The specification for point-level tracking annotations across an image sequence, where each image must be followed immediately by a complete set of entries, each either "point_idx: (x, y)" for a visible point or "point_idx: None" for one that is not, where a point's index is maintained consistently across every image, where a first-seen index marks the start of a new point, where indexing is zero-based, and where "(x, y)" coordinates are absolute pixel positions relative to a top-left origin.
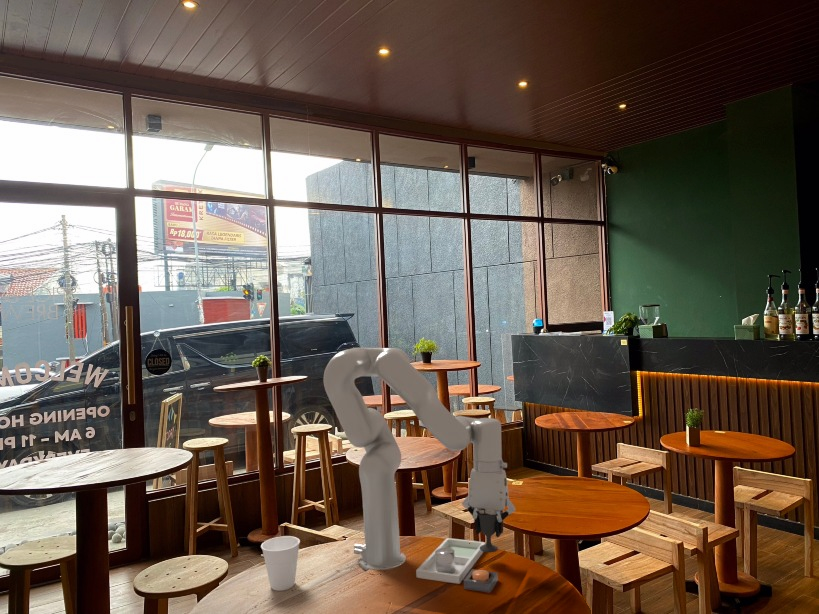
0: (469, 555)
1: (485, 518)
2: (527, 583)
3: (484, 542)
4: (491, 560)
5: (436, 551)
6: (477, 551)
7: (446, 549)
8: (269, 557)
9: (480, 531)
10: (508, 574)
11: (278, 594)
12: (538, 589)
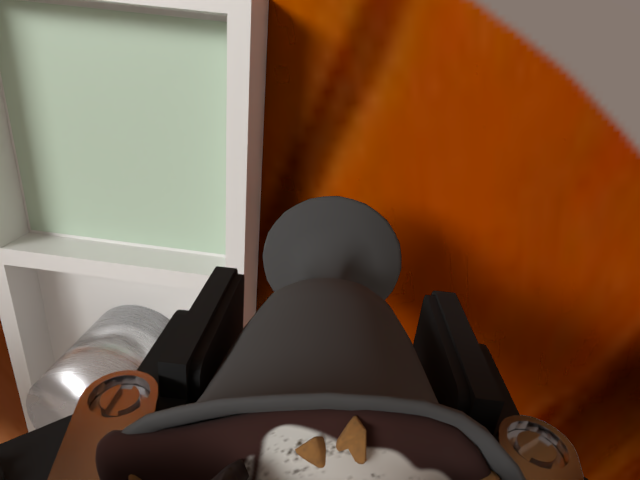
0: (189, 149)
1: None
2: (550, 364)
3: None
4: (333, 130)
5: (38, 423)
6: (240, 184)
7: (78, 394)
8: None
9: (242, 318)
10: (452, 290)
11: None
12: (598, 406)
